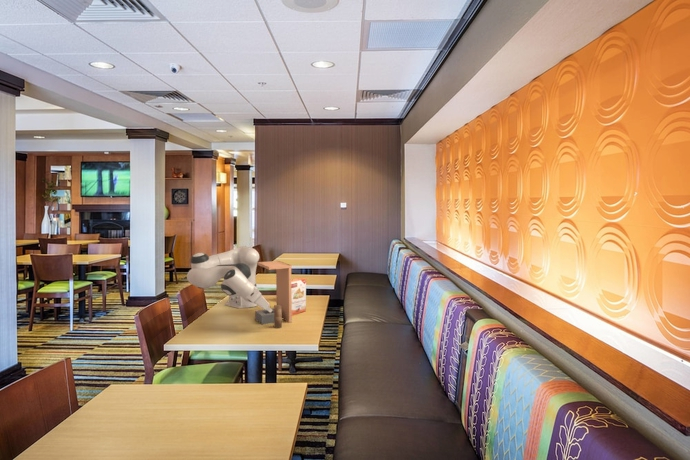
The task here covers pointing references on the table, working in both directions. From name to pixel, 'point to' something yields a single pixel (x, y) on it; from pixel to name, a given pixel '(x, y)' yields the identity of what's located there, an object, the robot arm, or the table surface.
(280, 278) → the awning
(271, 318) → the socket
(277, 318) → the peg
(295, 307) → the cracker box
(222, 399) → the table surface
